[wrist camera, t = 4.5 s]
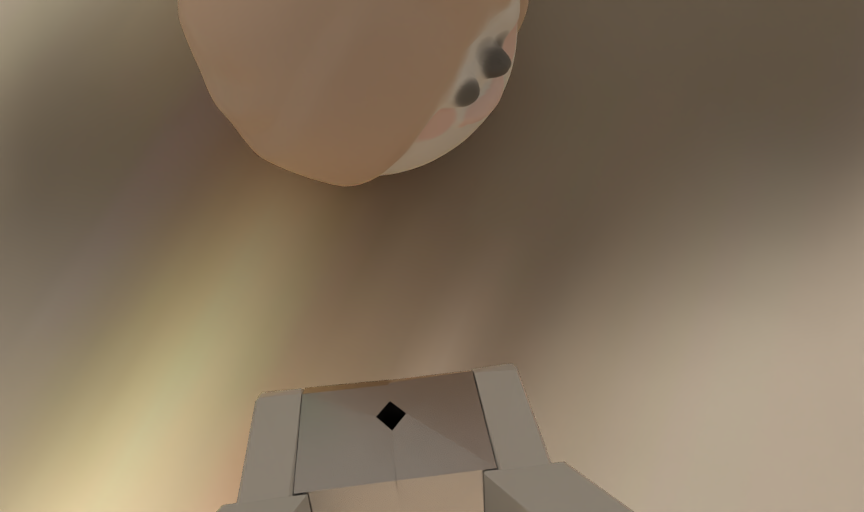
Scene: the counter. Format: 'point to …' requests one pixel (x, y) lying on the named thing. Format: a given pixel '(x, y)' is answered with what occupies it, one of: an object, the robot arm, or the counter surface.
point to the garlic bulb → (353, 77)
